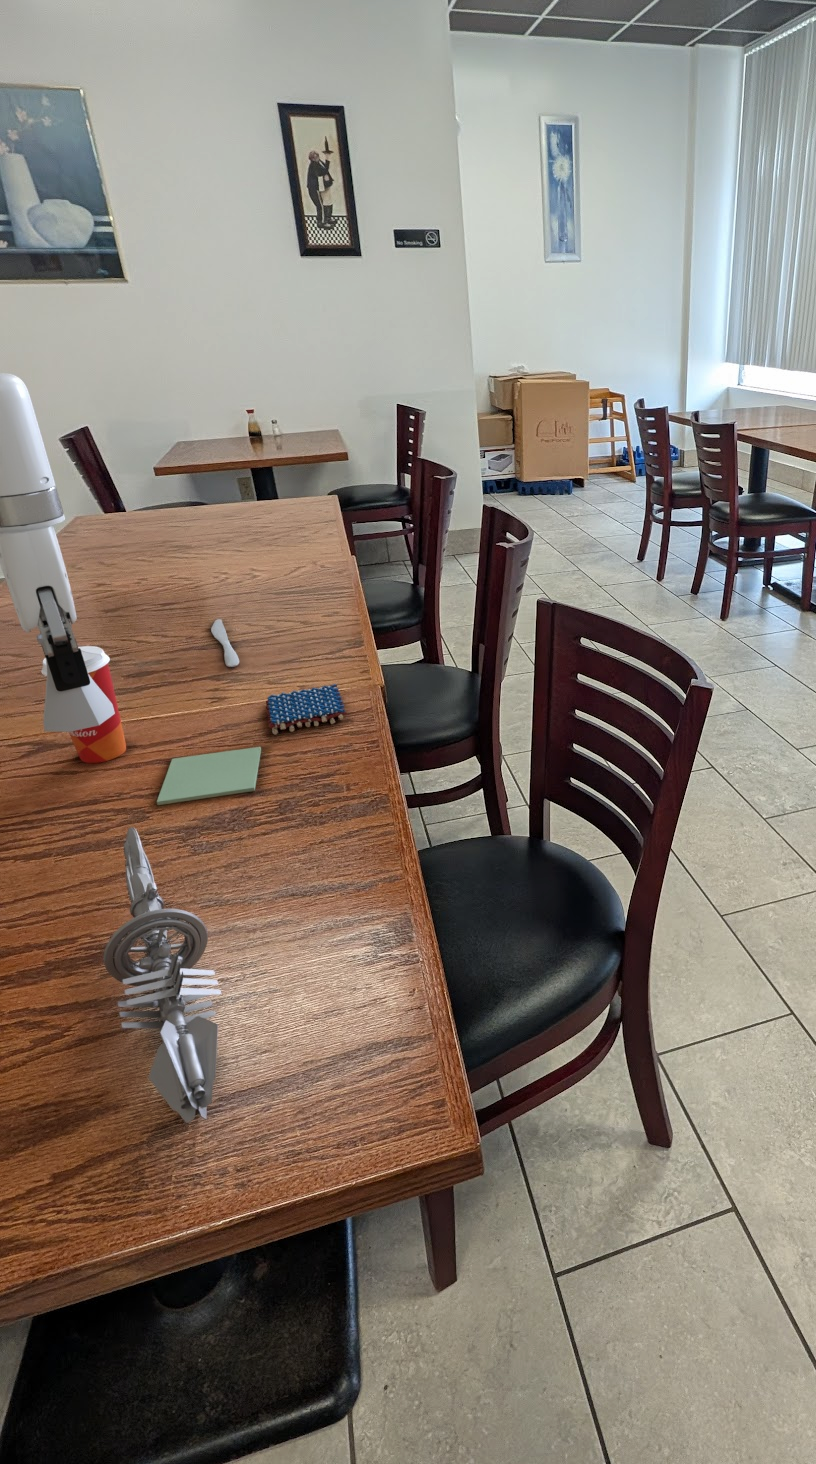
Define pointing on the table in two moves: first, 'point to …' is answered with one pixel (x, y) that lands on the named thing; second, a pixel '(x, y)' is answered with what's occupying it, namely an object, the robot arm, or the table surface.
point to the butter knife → (225, 643)
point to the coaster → (210, 775)
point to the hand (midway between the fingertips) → (71, 680)
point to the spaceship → (166, 987)
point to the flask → (73, 704)
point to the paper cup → (108, 735)
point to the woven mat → (304, 708)
